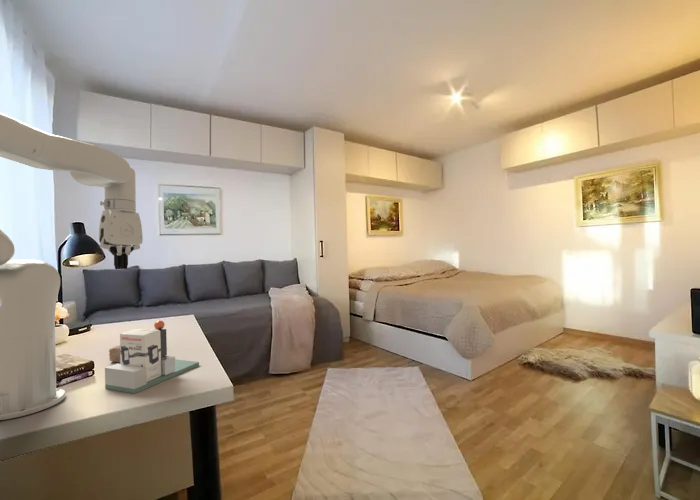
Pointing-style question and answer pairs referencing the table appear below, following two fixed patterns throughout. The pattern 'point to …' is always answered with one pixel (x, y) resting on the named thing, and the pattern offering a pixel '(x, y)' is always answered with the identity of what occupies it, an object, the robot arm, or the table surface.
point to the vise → (139, 376)
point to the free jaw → (165, 351)
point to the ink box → (142, 350)
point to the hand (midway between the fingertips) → (121, 268)
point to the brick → (114, 354)
